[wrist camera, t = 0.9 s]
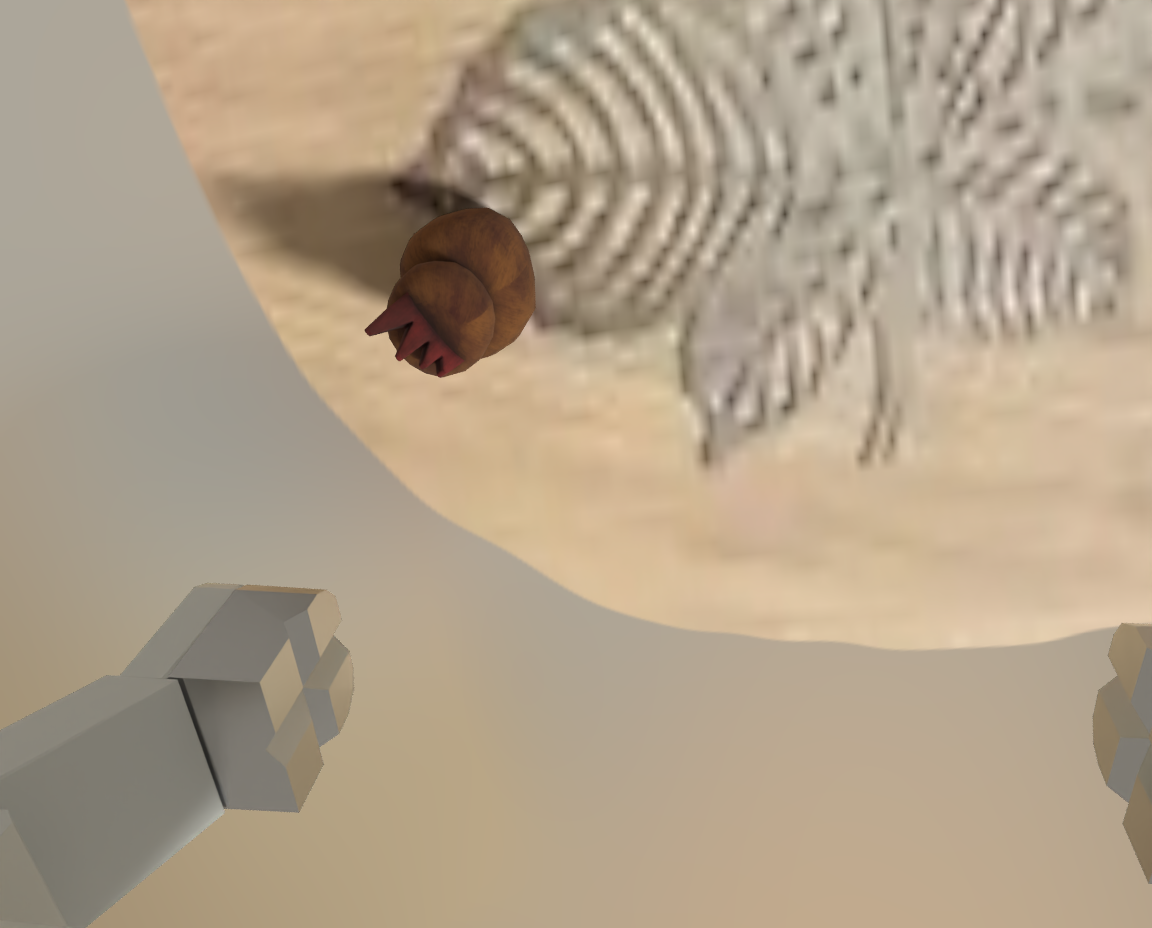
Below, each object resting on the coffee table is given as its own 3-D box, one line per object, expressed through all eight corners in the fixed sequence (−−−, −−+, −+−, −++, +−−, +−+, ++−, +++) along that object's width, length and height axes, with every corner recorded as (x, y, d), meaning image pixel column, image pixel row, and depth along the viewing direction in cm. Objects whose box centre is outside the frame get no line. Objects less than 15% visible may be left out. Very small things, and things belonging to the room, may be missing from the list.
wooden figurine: (417, 208, 49) (300, 305, 36) (520, 179, 47) (436, 269, 34) (461, 328, 52) (367, 457, 39) (559, 304, 50) (496, 430, 37)
